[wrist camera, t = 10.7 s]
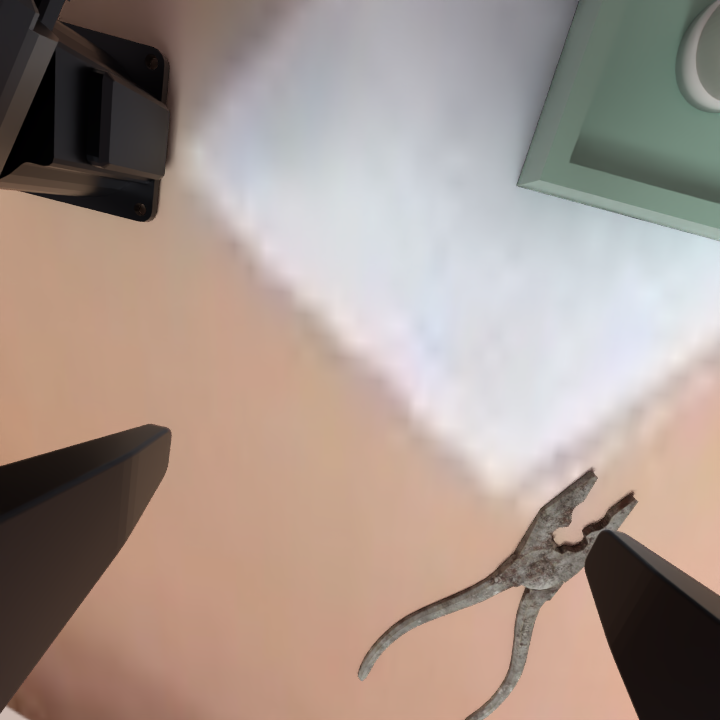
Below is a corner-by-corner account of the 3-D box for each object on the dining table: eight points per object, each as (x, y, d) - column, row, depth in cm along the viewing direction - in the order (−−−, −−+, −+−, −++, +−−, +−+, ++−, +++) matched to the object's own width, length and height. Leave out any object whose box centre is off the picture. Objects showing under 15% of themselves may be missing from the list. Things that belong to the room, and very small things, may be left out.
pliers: (348, 699, 27) (473, 438, 21) (348, 685, 28) (469, 429, 22) (486, 735, 28) (646, 493, 22) (483, 720, 28) (636, 483, 22)
